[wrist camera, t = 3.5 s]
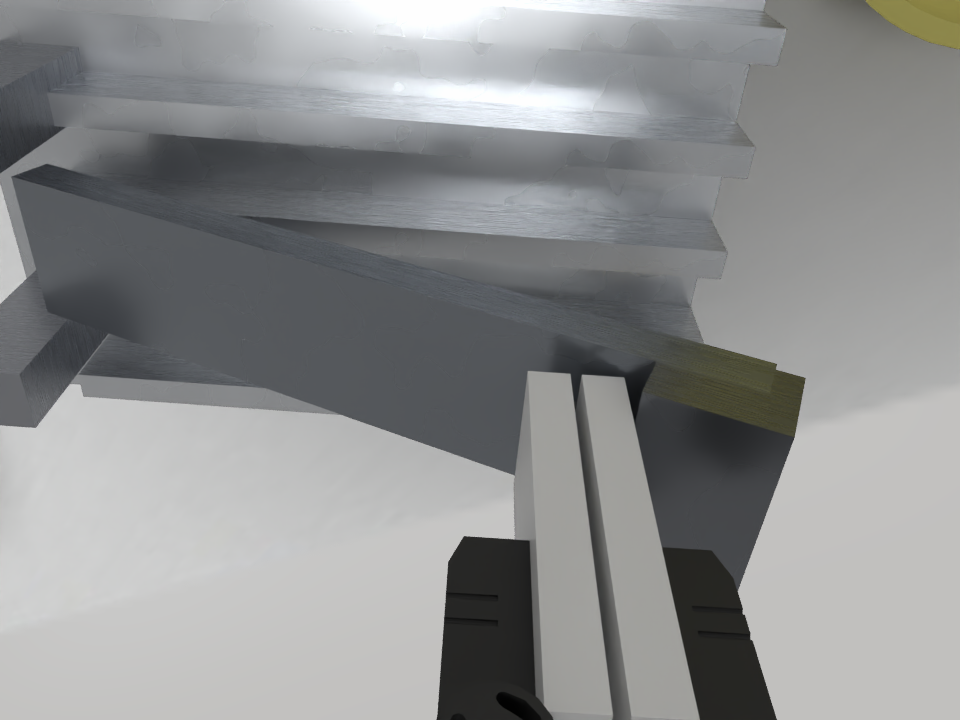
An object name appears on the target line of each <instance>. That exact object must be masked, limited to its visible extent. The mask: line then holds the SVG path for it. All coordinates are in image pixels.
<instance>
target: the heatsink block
mask: <svg viewBox="0 0 960 720" xmlns="http://www.w3.org/2000/svg"><path fill="white" fill-rule="evenodd" d="M765 2H766V0H0V183H1V187H2V191H3V194H4V198H5V201H6V205H7V209H8V212H9V216H10V219H11V223H12V227H13V230H14V234H15V237H16V241H17V245H18V248H19V252H20V255H21V259H22V263H23V266H24V270H25V273H26V277H27V279H26V280H25V281H24V282H23V283H22V284H21V285H20V286H19V287H18V288H17V289H16V290H15V291H14V292H12V293H11V294H10V295H9V296H8V297H7V298H6V299H5V300H4V301H3V302H2V303H1V304H0V425H4V426H18V427H32V428H36V427H37V425H38V424H39V423H40V422H41V420H42V419H43V418H44V416H45V415H46V414H47V413H48V411H49V410H50V409H51V407H52V406H53V405H54V403H55V402H56V401H57V400H58V398H59V397H60V396H61V394H62V393H63V392H64V391H65V389H66V388H67V387H68V385H69V384H80V385H81V388H82V392H83V396H84V397H98V398H112V399H126V400H140V401H154V402H168V403H182V404H196V405H210V406H224V407H238V408H253V409H267V410H281V411H295V412H309V413H323V414H337V415H341V414H338V413H335V412H332V411H329V410H326V409H324V408H321V407H318V406H315V405H312V404H309V403H306V402H304V401H301V400H298V399H295V398H292V397H289V396H286V395H283V394H281V393H278V392H275V391H272V390H269V389H266V388H263V387H261V386H258V385H255V384H252V383H249V382H246V381H243V380H241V379H238V378H235V377H232V376H229V375H226V374H223V373H220V372H218V371H215V370H212V369H209V368H206V367H203V366H200V365H198V364H195V363H192V362H189V361H186V360H183V359H180V358H178V357H175V356H172V355H169V354H166V353H163V352H160V351H157V350H155V349H152V348H149V347H146V346H143V345H140V344H137V343H135V342H132V341H129V340H126V339H123V338H120V337H117V336H115V335H112V334H109V333H106V332H103V331H100V330H97V329H94V328H92V327H89V326H86V325H83V324H80V323H77V322H74V321H72V320H69V319H66V318H63V317H60V316H57V315H54V314H52V313H49V312H47V308H46V304H45V301H44V297H43V293H42V290H41V286H40V282H39V278H38V275H37V271H36V267H35V264H34V260H33V256H32V252H31V249H30V245H29V241H28V237H27V234H26V230H25V226H24V223H23V219H22V215H21V211H20V208H19V204H18V200H17V196H16V193H15V189H14V185H13V182H12V178H11V177H12V176H14V175H17V174H20V173H23V172H25V171H28V170H31V169H34V168H36V167H39V166H42V165H45V164H50V165H54V166H58V167H61V168H65V169H69V170H72V171H76V172H80V173H83V174H87V175H90V176H94V177H98V178H101V179H105V180H109V181H112V182H116V183H120V184H123V185H127V186H131V187H134V188H138V189H141V190H145V191H149V192H152V193H156V194H160V195H163V196H167V197H171V198H174V199H178V200H182V201H185V202H189V203H192V204H196V205H200V206H203V207H207V208H211V209H214V210H218V211H222V212H225V213H229V214H232V215H236V216H240V217H243V218H247V219H251V220H254V221H258V222H262V223H265V224H269V225H273V226H276V227H280V228H283V229H287V230H291V231H294V232H298V233H302V234H305V235H309V236H313V237H316V238H320V239H323V240H327V241H331V242H334V243H338V244H342V245H345V246H349V247H353V248H356V249H360V250H364V251H367V252H371V253H374V254H378V255H382V256H385V257H389V258H393V259H396V260H400V261H404V262H407V263H411V264H414V265H418V266H422V267H425V268H429V269H433V270H436V271H440V272H444V273H447V274H451V275H455V276H458V277H462V278H465V279H469V280H473V281H476V282H480V283H484V284H487V285H491V286H495V287H498V288H502V289H505V290H509V291H513V292H516V293H520V294H524V295H527V296H531V297H535V298H538V299H542V300H546V301H549V302H553V303H556V304H560V305H564V306H567V307H571V308H575V309H578V310H582V311H586V312H589V313H593V314H597V315H600V316H604V317H607V318H611V319H615V320H618V321H622V322H626V323H629V324H633V325H637V326H640V327H644V328H647V329H651V330H655V331H658V332H662V333H666V334H669V335H673V336H677V337H680V338H684V339H688V340H691V341H695V342H698V343H702V344H703V343H704V342H703V339H702V336H701V334H700V331H699V328H698V326H697V323H696V320H695V318H694V315H693V312H692V310H691V307H690V305H691V301H692V297H693V293H694V289H695V285H696V281H697V277H699V278H712V279H721V275H722V272H723V268H724V264H725V260H726V257H727V253H728V252H727V250H726V248H725V246H724V244H723V242H722V240H721V238H720V236H719V234H718V232H717V230H716V228H715V226H714V224H713V222H712V216H713V212H714V208H715V204H716V200H717V196H718V192H719V188H720V184H721V180H722V177H729V178H742V179H747V178H748V174H749V170H750V166H751V163H752V159H753V155H754V151H755V148H756V147H755V146H754V145H753V143H752V142H751V141H750V139H749V138H748V137H747V135H746V134H745V133H744V131H743V130H742V129H741V127H740V126H739V125H738V123H737V122H736V119H737V115H738V111H739V107H740V103H741V99H742V95H743V91H744V87H745V83H746V79H747V75H748V71H749V67H750V64H757V65H769V66H777V65H778V61H779V57H780V54H781V50H782V46H783V42H784V39H785V35H786V31H787V29H786V28H785V27H784V26H782V25H781V24H780V23H778V22H777V21H776V20H774V19H773V18H772V17H770V16H769V15H768V14H766V13H765V12H764V11H763V10H764V6H765Z"/></svg>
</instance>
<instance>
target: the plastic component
mask: <svg viewBox="0 0 960 720" xmlns="http://www.w3.org/2000/svg"><path fill="white" fill-rule="evenodd" d="M865 1H866V2H867V3H868V4H869V5H870V6H871V7H872V8H873V9H874V10H875V11H877V12H878V13H879V14H880V15H881V16H883V17H884V18H885V19H886V20H887V21H888V22H890V23H892V24H893V25H895V26H897V27H898V28H900V29H902V30H903V31H905V32H907V33H909V34H911V35H914V36H916V37H918V38H920V39H923V40H925V41H927V42H930V43H934V44H939V45H943V46H947V47H951V48H955V49H960V0H865Z"/></svg>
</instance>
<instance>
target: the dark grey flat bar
mask: <svg viewBox="0 0 960 720" xmlns="http://www.w3.org/2000/svg"><path fill="white" fill-rule="evenodd" d="M11 178H12V182H13V185H14V189H15V193H16V196H17V200H18V204H19V208H20V211H21V215H22V219H23V223H24V226H25V230H26V234H27V237H28V241H29V245H30V249H31V252H32V256H33V260H34V264H35V267H36V271H37V275H38V278H39V282H40V286H41V290H42V293H43V297H44V301H45V304H46V308H47V312H49V313H52V314H54V315H57V316H60V317H63V318H66V319H69V320H72V321H74V322H77V323H80V324H83V325H86V326H89V327H92V328H94V329H97V330H100V331H103V332H106V333H109V334H112V335H115V336H117V337H120V338H123V339H126V340H129V341H132V342H135V343H137V344H140V345H143V346H146V347H149V348H152V349H155V350H157V351H160V352H163V353H166V354H169V355H172V356H175V357H178V358H180V359H183V360H186V361H189V362H192V363H195V364H198V365H200V366H203V367H206V368H209V369H212V370H215V371H218V372H220V373H223V374H226V375H229V376H232V377H235V378H238V379H241V380H243V381H246V382H249V383H252V384H255V385H258V386H261V387H263V388H266V389H269V390H272V391H275V392H278V393H281V394H283V395H286V396H289V397H292V398H295V399H298V400H301V401H304V402H306V403H309V404H312V405H315V406H318V407H321V408H324V409H326V410H329V411H332V412H335V413H338V414H341V415H344V416H346V417H349V418H352V419H355V420H358V421H361V422H364V423H367V424H369V425H372V426H375V427H378V428H381V429H384V430H387V431H389V432H392V433H395V434H398V435H401V436H404V437H407V438H409V439H412V440H415V441H418V442H421V443H424V444H427V445H430V446H432V447H435V448H438V449H441V450H444V451H447V452H450V453H452V454H455V455H458V456H461V457H464V458H467V459H470V460H472V461H475V462H478V463H481V464H484V465H487V466H490V467H493V468H495V469H498V470H501V471H504V472H507V473H510V474H513V475H515V471H516V463H517V454H518V446H519V438H520V430H521V422H522V414H523V406H524V398H525V390H526V382H527V374H528V371H537V372H552V373H566V374H570V375H571V383H572V391H573V399H574V407H575V412H576V406H577V400H578V394H579V389H580V383H581V377H582V375H596V376H610V377H624V379H625V383H626V388H627V392H628V397H629V401H630V406H631V410H632V415H633V419H634V424H635V428H636V433H637V437H638V442H639V447H640V451H641V456H642V460H643V465H644V469H645V474H646V478H647V483H648V487H649V492H650V496H651V501H652V505H653V510H654V515H655V519H656V524H657V528H658V533H659V537H660V542H661V546H662V547H668V548H683V549H699V550H712V552H713V553H714V554H715V555H716V557H717V558H718V559H719V560H720V562H721V563H722V564H723V565H724V567H725V568H726V569H727V571H728V572H729V573H730V574H731V576H732V577H733V578H734V582H735V585H736V588H737V591H738V589H739V586H740V583H741V581H742V578H743V575H744V573H745V569H746V567H747V564H748V562H749V559H750V556H751V553H752V551H753V548H754V545H755V543H756V540H757V537H758V535H759V532H760V529H761V526H762V524H763V521H764V518H765V516H766V513H767V510H768V508H769V505H770V502H771V500H772V497H773V494H774V491H775V488H776V486H777V483H778V481H779V478H780V475H781V472H782V469H783V467H784V464H785V461H786V459H787V456H788V454H789V451H790V448H791V445H792V443H793V440H794V437H795V432H796V427H797V421H798V416H799V410H800V405H801V400H802V394H803V389H804V384H805V378H803V377H800V376H796V375H793V374H789V373H785V372H782V371H778V370H776V366H777V364H775V363H771V362H768V361H764V360H760V359H757V358H753V357H749V356H746V355H742V354H738V353H735V352H731V351H728V350H724V349H720V348H717V347H713V346H709V345H706V344H702V343H698V342H695V341H691V340H688V339H684V338H680V337H677V336H673V335H669V334H666V333H662V332H658V331H655V330H651V329H647V328H644V327H640V326H637V325H633V324H629V323H626V322H622V321H618V320H615V319H611V318H607V317H604V316H600V315H597V314H593V313H589V312H586V311H582V310H578V309H575V308H571V307H567V306H564V305H560V304H556V303H553V302H549V301H546V300H542V299H538V298H535V297H531V296H527V295H524V294H520V293H516V292H513V291H509V290H505V289H502V288H498V287H495V286H491V285H487V284H484V283H480V282H476V281H473V280H469V279H465V278H462V277H458V276H455V275H451V274H447V273H444V272H440V271H436V270H433V269H429V268H425V267H422V266H418V265H414V264H411V263H407V262H404V261H400V260H396V259H393V258H389V257H385V256H382V255H378V254H374V253H371V252H367V251H364V250H360V249H356V248H353V247H349V246H345V245H342V244H338V243H334V242H331V241H327V240H323V239H320V238H316V237H313V236H309V235H305V234H302V233H298V232H294V231H291V230H287V229H283V228H280V227H276V226H273V225H269V224H265V223H262V222H258V221H254V220H251V219H247V218H243V217H240V216H236V215H232V214H229V213H225V212H222V211H218V210H214V209H211V208H207V207H203V206H200V205H196V204H192V203H189V202H185V201H182V200H178V199H174V198H171V197H167V196H163V195H160V194H156V193H152V192H149V191H145V190H141V189H138V188H134V187H131V186H127V185H123V184H120V183H116V182H112V181H109V180H105V179H101V178H98V177H94V176H90V175H87V174H83V173H80V172H76V171H72V170H69V169H65V168H61V167H58V166H54V165H50V164H45V165H42V166H39V167H36V168H34V169H31V170H28V171H25V172H23V173H20V174H17V175H14V176H12V177H11Z"/></svg>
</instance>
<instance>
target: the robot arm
mask: <svg viewBox="0 0 960 720" xmlns="http://www.w3.org/2000/svg"><path fill="white" fill-rule="evenodd" d="M514 522H515V540H513V539H498V538H482V537H466V536H464V537H463V539H462V540H461V542H460V544H459V545H458V547H457V549H456V550H455V552H454V553H453V555H452V557H451V558H450V560H449V562H448V574H447V588H446V589H447V590H446V603H445V617H444V631H443V646H442V659H441V673H440V688H439V702H438V715H437V720H777V719H776V716H775V712H774V709H773V706H772V703H771V700H770V696H769V693H768V690H767V686H766V683H765V680H764V677H763V673H762V670H761V667H760V664H759V660H758V657H757V654H756V650H755V647H754V644H753V641H752V640H750V631H749V627H748V624H747V621H746V618H745V615H743V614H742V610H743V608H742V605H741V601H740V598H739V595H738V592H737V588H736V585H735V582H734V578H733V577H732V576H731V574H730V573H729V572H728V571H727V569H726V568H725V567H724V565H723V564H722V563H721V562H720V560H719V559H718V558H717V557H716V555H715V554H714V553H713V552H712V550H699V549H683V548H668V547H662V546H661V542H660V537H659V533H658V528H657V524H656V519H655V515H654V510H653V505H652V501H651V496H650V492H649V487H648V483H647V478H646V474H645V469H644V465H643V460H642V456H641V451H640V447H639V442H638V437H637V433H636V428H635V424H634V419H633V415H632V410H631V406H630V401H629V397H628V392H627V388H626V383H625V379H624V377H610V376H596V375H582V377H581V383H580V389H579V394H578V400H577V406H576V412H575V407H574V399H573V391H572V383H571V375H570V374H566V373H552V372H537V371H528V374H527V382H526V390H525V398H524V406H523V414H522V422H521V430H520V438H519V446H518V454H517V463H516V471H515V479H514Z"/></svg>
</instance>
